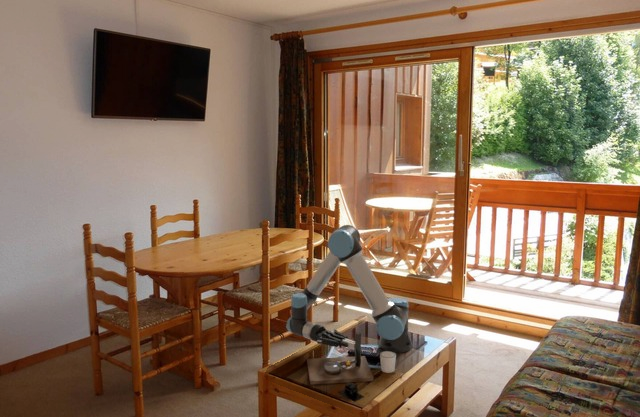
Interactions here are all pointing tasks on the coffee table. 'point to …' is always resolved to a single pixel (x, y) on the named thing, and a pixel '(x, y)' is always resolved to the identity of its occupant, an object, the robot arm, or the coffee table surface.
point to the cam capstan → (335, 366)
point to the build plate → (351, 392)
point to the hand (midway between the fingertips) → (355, 346)
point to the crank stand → (346, 374)
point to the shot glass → (387, 361)
